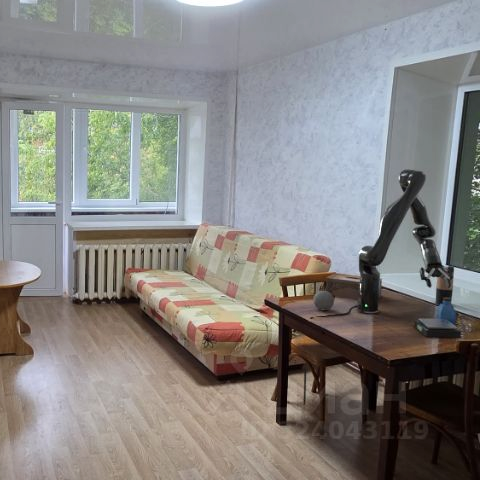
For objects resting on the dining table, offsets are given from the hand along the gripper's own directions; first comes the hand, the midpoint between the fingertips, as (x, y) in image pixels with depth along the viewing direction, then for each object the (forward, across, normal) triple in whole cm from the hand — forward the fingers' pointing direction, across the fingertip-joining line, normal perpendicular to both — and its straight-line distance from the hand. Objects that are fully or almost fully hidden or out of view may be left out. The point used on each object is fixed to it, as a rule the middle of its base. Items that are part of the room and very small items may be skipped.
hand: (439, 287), depth 250 cm
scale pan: (+24, -9, -7) cm, 26 cm away
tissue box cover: (-16, -30, +38) cm, 51 cm away
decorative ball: (+4, -52, +17) cm, 55 cm away
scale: (+26, -9, -5) cm, 28 cm away
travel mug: (-6, +12, +27) cm, 30 cm away
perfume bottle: (+17, 0, +4) cm, 18 cm away
